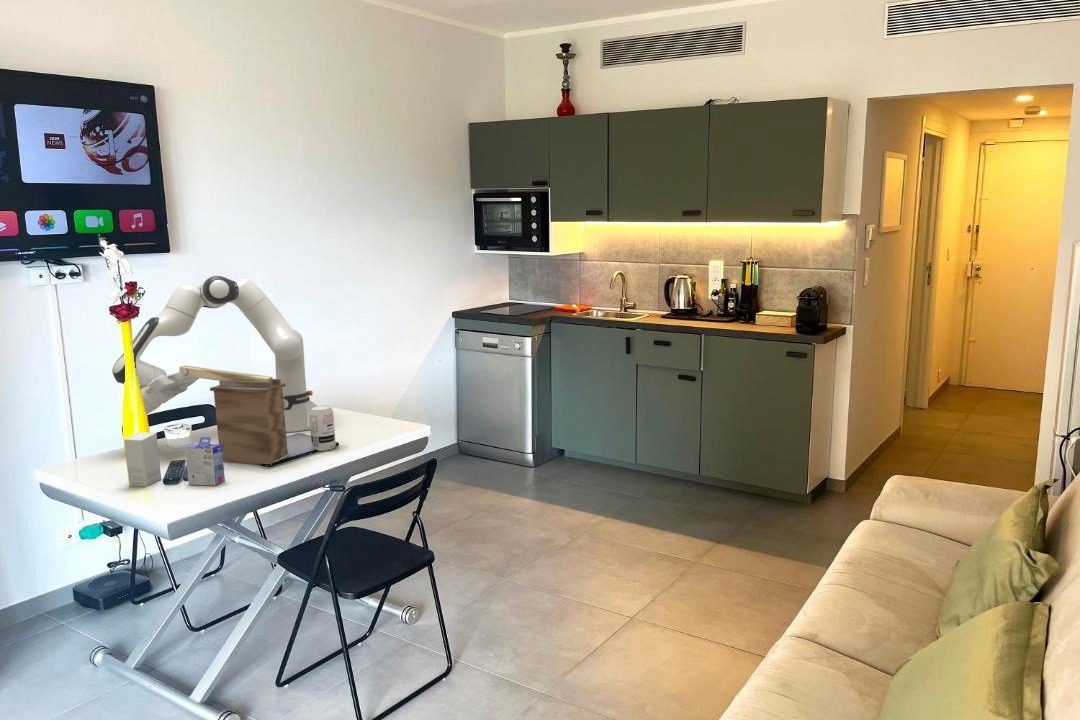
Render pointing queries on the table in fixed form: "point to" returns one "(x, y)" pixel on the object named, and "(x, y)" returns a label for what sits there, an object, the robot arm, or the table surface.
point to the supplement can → (322, 428)
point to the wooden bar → (223, 375)
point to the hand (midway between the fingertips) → (191, 369)
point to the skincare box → (142, 459)
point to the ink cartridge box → (205, 463)
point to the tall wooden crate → (251, 421)
